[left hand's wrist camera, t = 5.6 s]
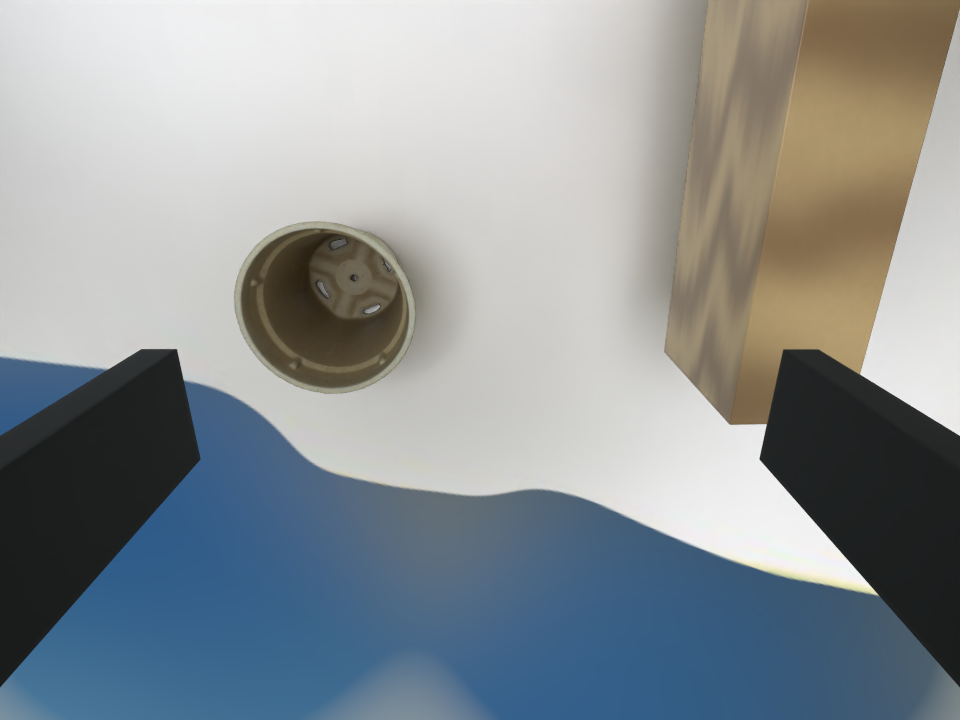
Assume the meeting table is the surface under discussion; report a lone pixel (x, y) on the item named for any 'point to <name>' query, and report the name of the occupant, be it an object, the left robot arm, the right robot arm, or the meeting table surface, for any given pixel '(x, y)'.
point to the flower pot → (325, 307)
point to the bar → (797, 184)
